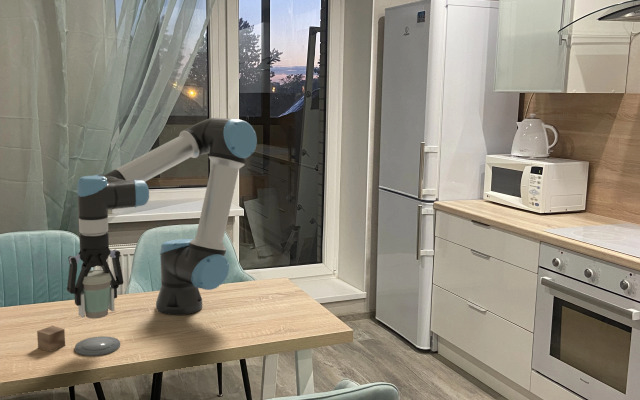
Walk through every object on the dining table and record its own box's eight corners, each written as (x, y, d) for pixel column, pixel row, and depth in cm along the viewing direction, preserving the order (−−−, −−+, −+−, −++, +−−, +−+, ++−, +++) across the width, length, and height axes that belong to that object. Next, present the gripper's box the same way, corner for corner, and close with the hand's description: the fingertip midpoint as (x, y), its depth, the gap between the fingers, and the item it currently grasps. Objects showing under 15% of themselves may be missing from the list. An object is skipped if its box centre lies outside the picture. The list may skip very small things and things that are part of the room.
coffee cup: (101, 307, 183) (100, 267, 181) (119, 314, 177) (117, 273, 175) (74, 315, 176) (72, 273, 174) (91, 322, 171) (89, 279, 169)
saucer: (110, 335, 187) (109, 332, 186) (127, 348, 178) (127, 345, 177) (68, 345, 179) (68, 341, 179) (84, 359, 170) (84, 355, 170)
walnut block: (53, 342, 181) (52, 325, 180) (65, 346, 179) (64, 329, 178) (38, 348, 177) (37, 331, 176) (50, 352, 174) (49, 334, 174)
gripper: (124, 226, 182) (126, 302, 186) (50, 235, 169) (54, 316, 173) (135, 230, 177) (137, 309, 180) (60, 240, 163) (64, 324, 167)
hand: (96, 312), depth 177 cm, fingers closed on coffee cup, 8 cm apart
